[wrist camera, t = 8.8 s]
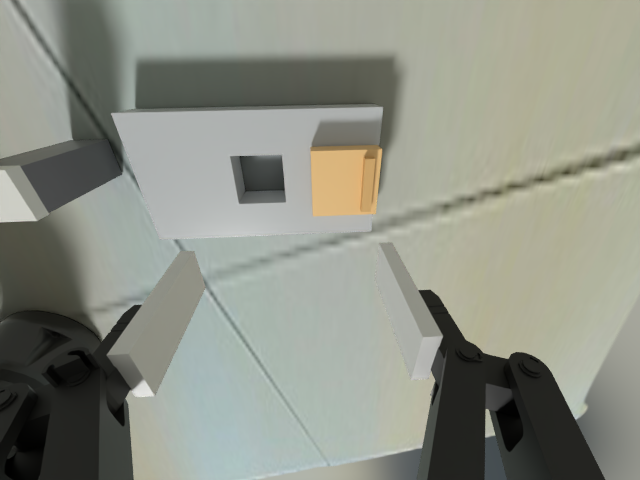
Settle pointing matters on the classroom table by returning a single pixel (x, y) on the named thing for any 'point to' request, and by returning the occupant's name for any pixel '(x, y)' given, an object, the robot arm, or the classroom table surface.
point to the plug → (53, 177)
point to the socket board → (238, 166)
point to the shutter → (345, 179)
